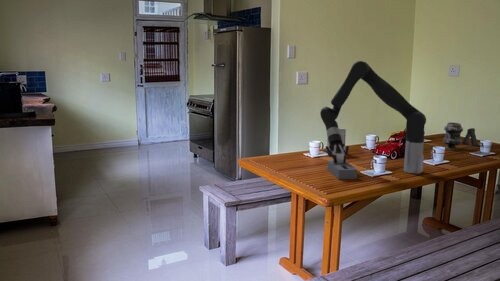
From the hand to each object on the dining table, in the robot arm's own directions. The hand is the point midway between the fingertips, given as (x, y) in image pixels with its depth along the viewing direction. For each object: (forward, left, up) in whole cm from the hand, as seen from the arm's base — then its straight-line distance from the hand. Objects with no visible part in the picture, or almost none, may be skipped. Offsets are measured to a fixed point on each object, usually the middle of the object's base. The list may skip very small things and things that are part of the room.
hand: (340, 162), depth 232 cm
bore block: (-2, +2, -6) cm, 7 cm away
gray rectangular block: (+1, -1, -4) cm, 5 cm away
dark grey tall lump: (-33, -105, -6) cm, 110 cm away
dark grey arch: (-40, -128, -6) cm, 134 cm away
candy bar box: (+24, -42, -6) cm, 48 cm away
